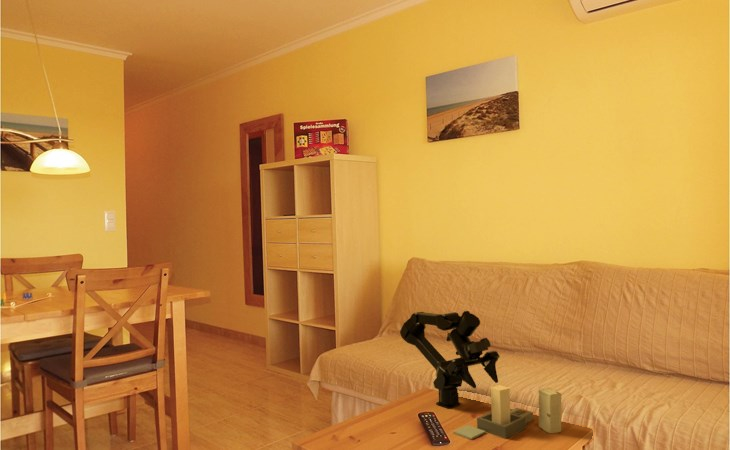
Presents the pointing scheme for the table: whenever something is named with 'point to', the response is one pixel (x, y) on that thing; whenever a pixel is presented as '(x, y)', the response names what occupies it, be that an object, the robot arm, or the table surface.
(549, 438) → the table surface
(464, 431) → the rubber mat
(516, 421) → the grey green open tray
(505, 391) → the cream rectangular block
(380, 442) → the table surface
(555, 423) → the skincare box
